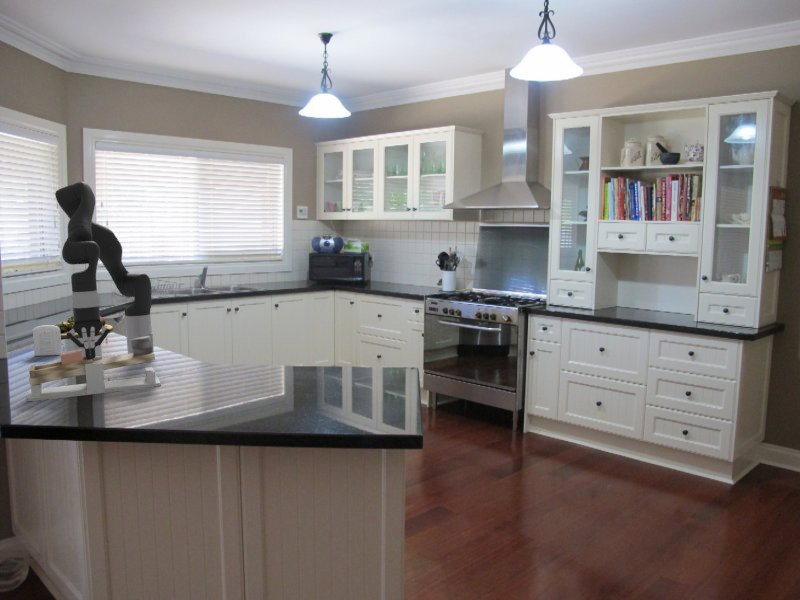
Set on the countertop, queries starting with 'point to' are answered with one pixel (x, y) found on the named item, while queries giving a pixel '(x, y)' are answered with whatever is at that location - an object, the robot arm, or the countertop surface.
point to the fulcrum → (94, 384)
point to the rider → (71, 356)
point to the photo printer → (47, 340)
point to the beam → (59, 371)
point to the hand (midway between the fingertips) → (90, 359)
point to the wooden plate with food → (68, 326)
